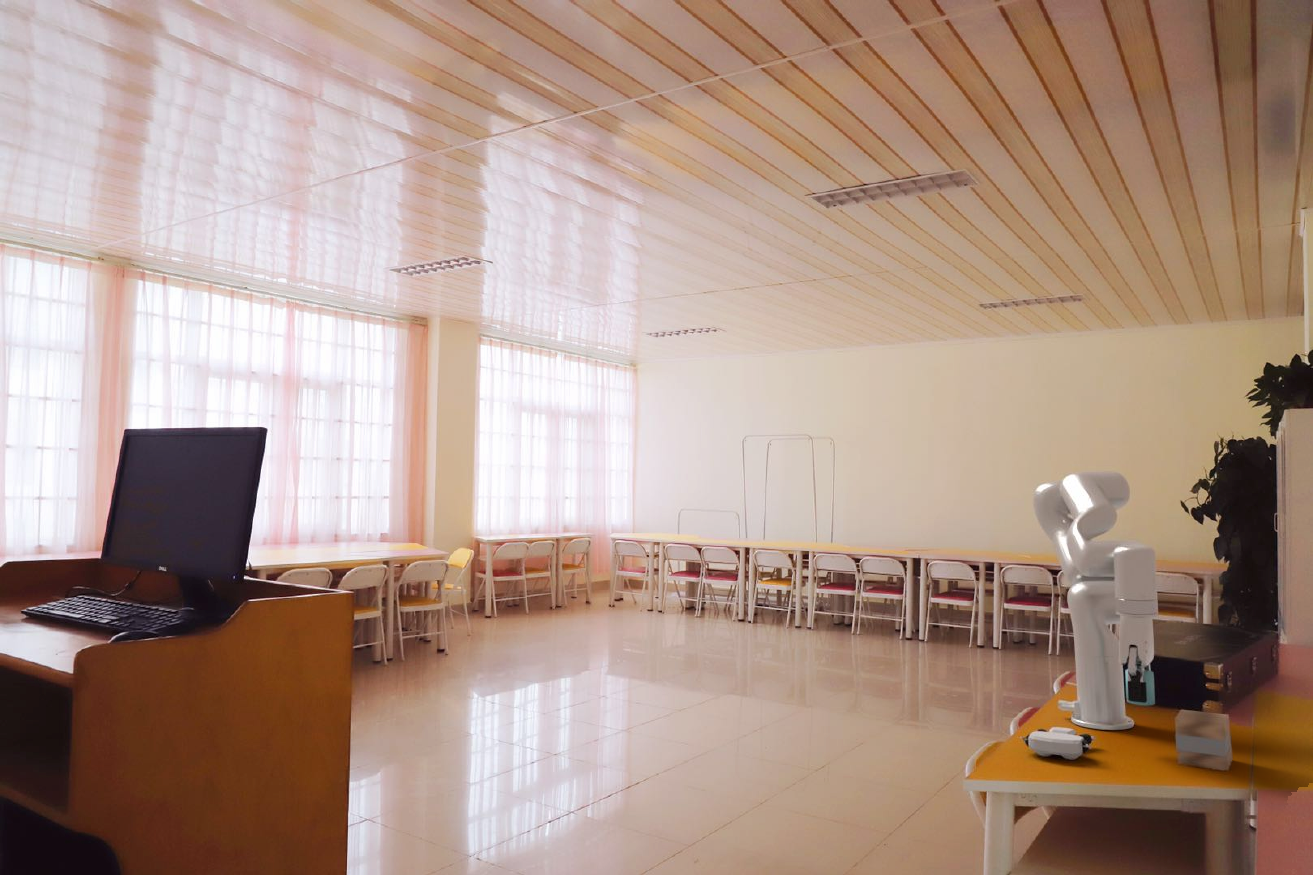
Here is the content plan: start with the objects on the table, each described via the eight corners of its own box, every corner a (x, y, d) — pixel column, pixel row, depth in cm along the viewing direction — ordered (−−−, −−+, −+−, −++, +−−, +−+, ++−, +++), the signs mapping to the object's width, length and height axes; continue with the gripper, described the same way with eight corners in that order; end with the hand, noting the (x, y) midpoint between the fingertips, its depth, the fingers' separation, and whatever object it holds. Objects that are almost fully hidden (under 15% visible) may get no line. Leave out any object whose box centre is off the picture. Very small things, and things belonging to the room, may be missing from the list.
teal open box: (1124, 702, 179) (1123, 672, 179) (1129, 697, 183) (1128, 667, 183) (1152, 706, 176) (1151, 675, 176) (1156, 700, 180) (1155, 670, 180)
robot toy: (1034, 744, 189) (1019, 757, 177) (1034, 722, 190) (1019, 733, 177) (1099, 752, 182) (1088, 766, 170) (1098, 729, 183) (1087, 741, 171)
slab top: (1175, 734, 171) (1174, 718, 171) (1182, 724, 177) (1180, 709, 177) (1225, 740, 166) (1224, 723, 166) (1229, 730, 172) (1228, 714, 172)
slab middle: (1176, 749, 171) (1175, 733, 171) (1183, 740, 177) (1182, 724, 177) (1225, 756, 166) (1224, 739, 166) (1230, 746, 172) (1229, 730, 172)
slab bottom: (1178, 765, 171) (1177, 749, 171) (1184, 755, 177) (1183, 740, 177) (1227, 772, 166) (1226, 756, 166) (1232, 762, 172) (1231, 746, 172)
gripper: (1124, 599, 189) (1128, 686, 188) (1106, 612, 175) (1110, 705, 175) (1164, 602, 184) (1168, 691, 184) (1149, 615, 171) (1154, 711, 170)
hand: (1140, 697), depth 179 cm, fingers closed on teal open box, 4 cm apart
